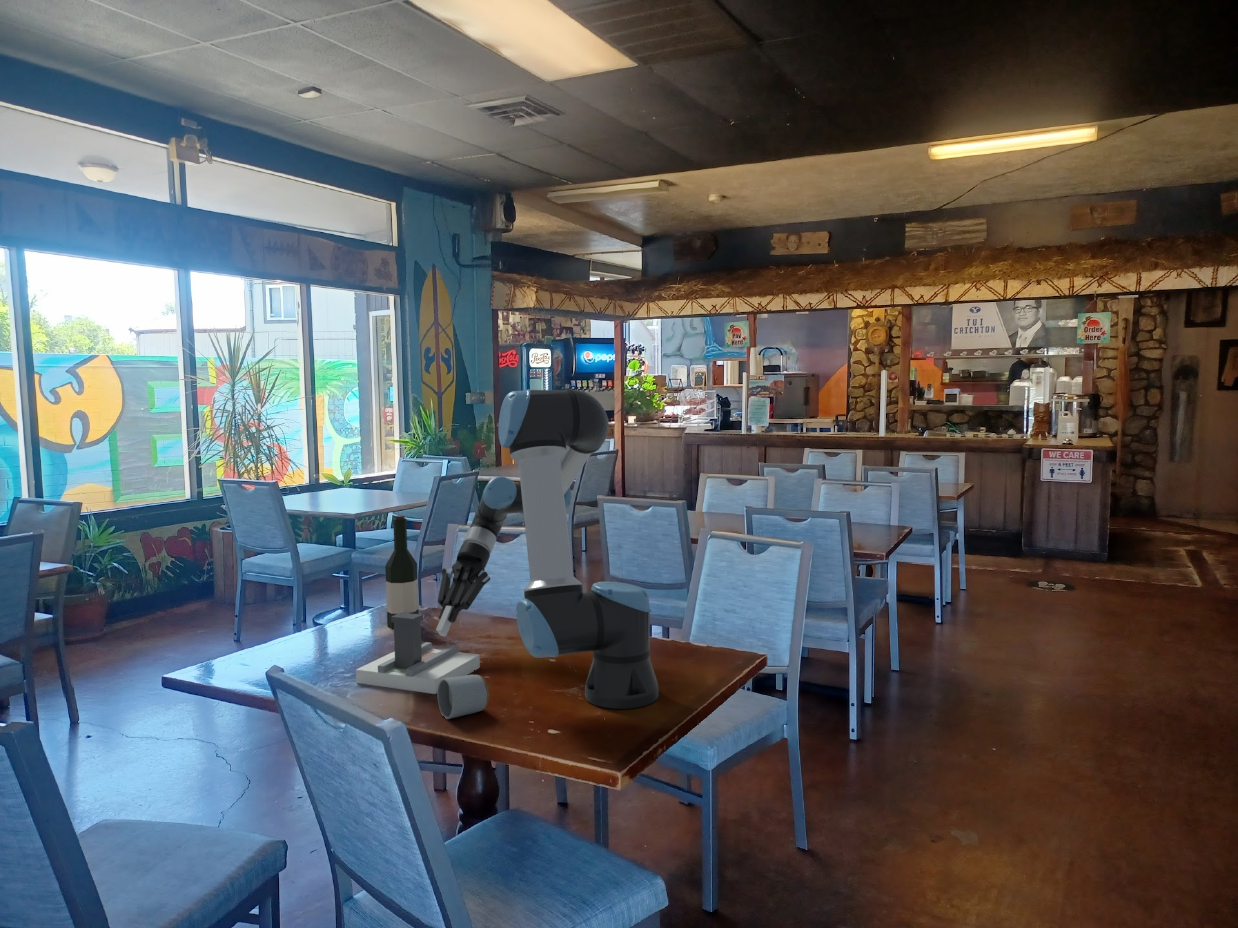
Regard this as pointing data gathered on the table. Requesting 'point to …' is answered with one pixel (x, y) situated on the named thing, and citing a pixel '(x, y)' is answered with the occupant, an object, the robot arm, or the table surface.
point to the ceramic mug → (462, 695)
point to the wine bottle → (401, 575)
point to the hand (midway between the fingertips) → (441, 632)
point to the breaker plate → (419, 669)
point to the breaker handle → (407, 639)
